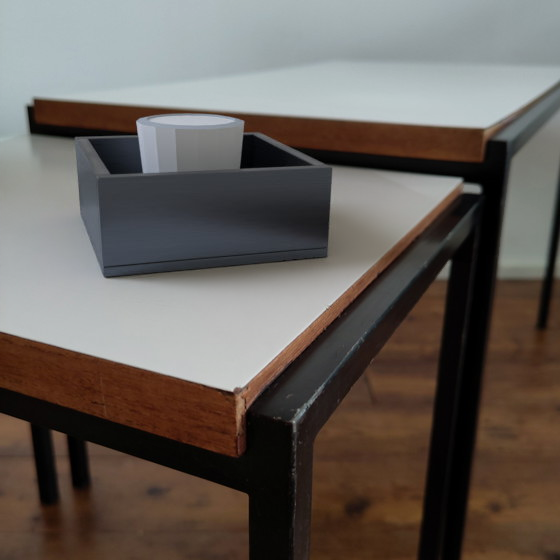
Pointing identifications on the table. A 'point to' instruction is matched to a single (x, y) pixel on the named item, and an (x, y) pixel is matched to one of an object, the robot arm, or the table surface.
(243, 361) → the table surface
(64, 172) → the table surface
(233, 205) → the dark grey storage bin
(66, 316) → the table surface
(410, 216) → the table surface
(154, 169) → the white cup
